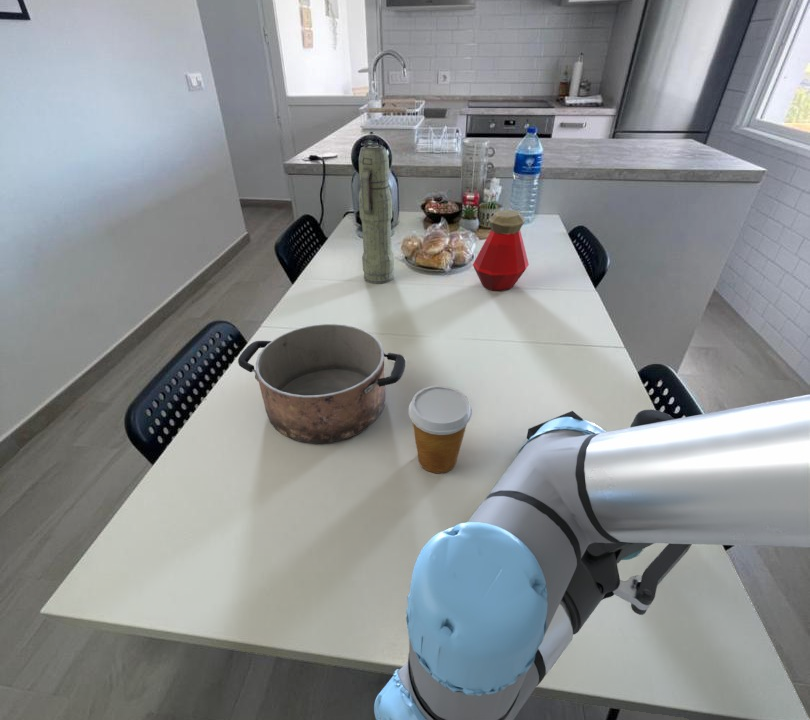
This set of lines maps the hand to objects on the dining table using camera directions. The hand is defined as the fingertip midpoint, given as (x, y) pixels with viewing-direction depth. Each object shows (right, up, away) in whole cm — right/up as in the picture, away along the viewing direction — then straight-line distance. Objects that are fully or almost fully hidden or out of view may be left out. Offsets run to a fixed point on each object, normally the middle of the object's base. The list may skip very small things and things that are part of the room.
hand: (654, 460), depth 51 cm
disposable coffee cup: (-23, -5, +23) cm, 33 cm away
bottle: (-2, +33, +75) cm, 82 cm away
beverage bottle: (-3, -11, +4) cm, 12 cm away
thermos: (-36, +35, +80) cm, 94 cm away
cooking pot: (-43, +3, +35) cm, 55 cm away
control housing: (0, -4, +24) cm, 24 cm away
